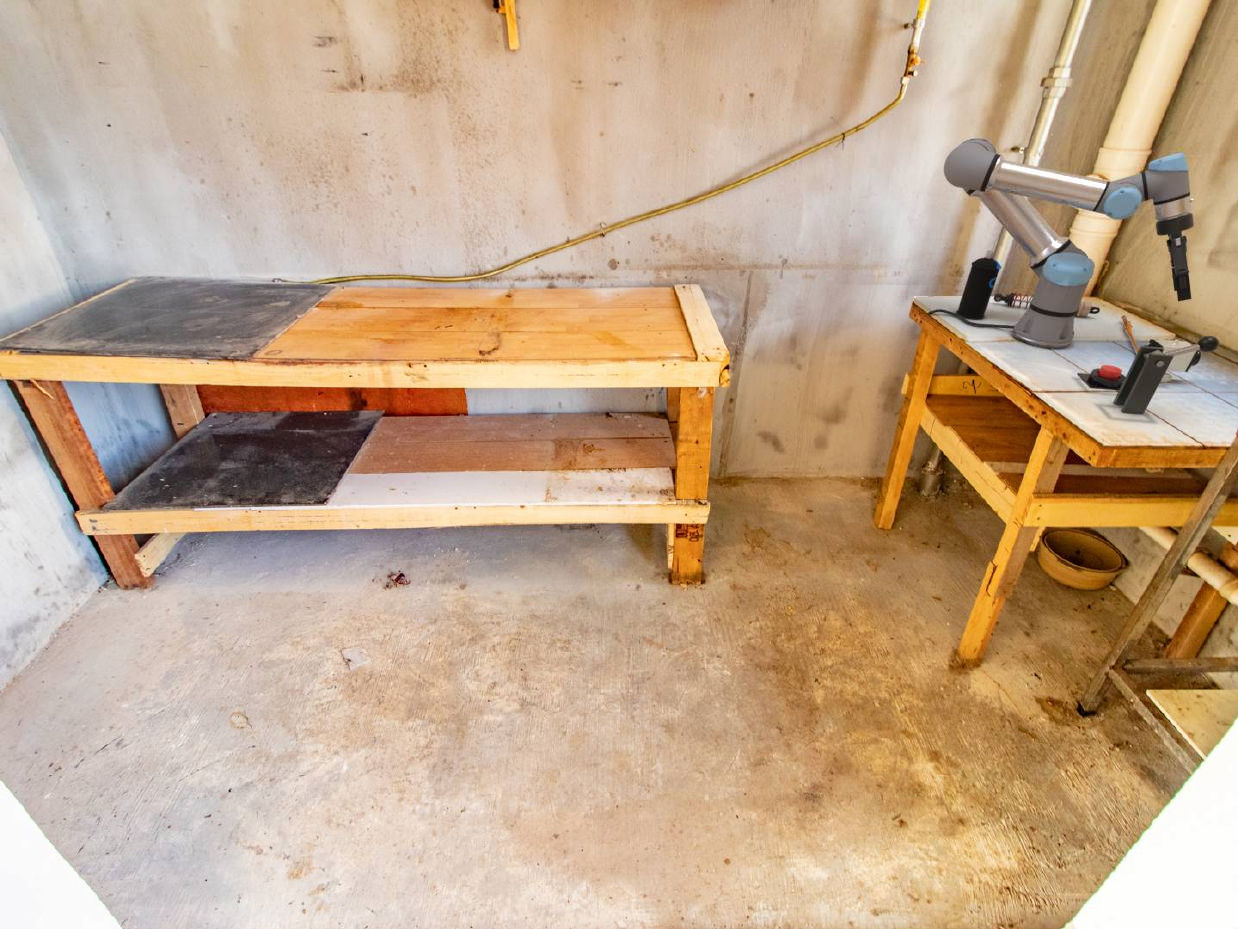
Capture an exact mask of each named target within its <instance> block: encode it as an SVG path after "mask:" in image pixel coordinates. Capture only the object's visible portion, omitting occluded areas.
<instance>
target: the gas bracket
mask: <svg viewBox="0 0 1238 929" xmlns="http://www.w3.org/2000/svg"><path fill="white" fill-rule="evenodd" d="M1138 349H1139V351H1138V353H1137V355H1136V354H1135V357H1134V359H1133V361H1132V363H1131V365H1130V367H1129V369H1128V371H1127V373H1126V375H1125V379H1124V381H1123V383H1122V385H1121V387H1120V389H1119V391H1118V390H1117V394H1116V396H1115V397H1114V400H1113V402H1112V404H1113V405H1114V406H1121V407H1122V408H1121V409H1120V412H1121V413H1122V414H1130V415H1141V416H1143V415H1145V412H1146V410H1147V408H1148V406H1149V405H1150V403H1151V400H1152V399H1153V397H1154V395H1155V393H1156V391H1157V390H1158V387H1159V385H1160V384H1161V383H1162V382H1161V380H1162V378H1163V376H1164V374H1165V372H1167V371H1166V370H1167V369H1168V367H1169V365H1170V363H1171V361H1172V359H1173V357H1174V356H1172V355H1168V354H1155V353H1150V354H1149V356H1148V358H1147V360H1146V362H1145V364H1144V355H1143V354H1145V353H1149V352H1153V351H1156V350H1159V351H1160V352H1161V353H1163V351H1164V349H1163V348H1161V347H1148V346H1144V345H1140V347H1139V348H1138Z"/></svg>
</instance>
